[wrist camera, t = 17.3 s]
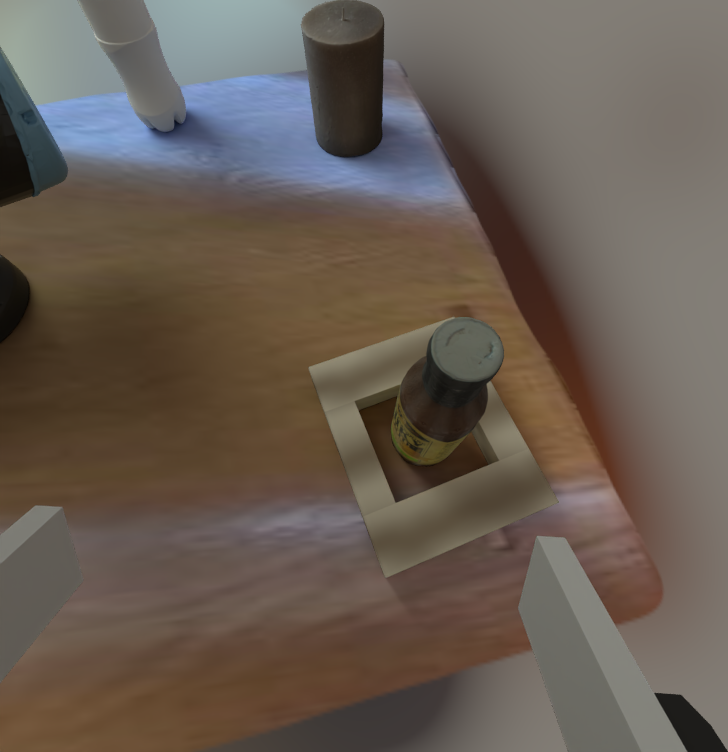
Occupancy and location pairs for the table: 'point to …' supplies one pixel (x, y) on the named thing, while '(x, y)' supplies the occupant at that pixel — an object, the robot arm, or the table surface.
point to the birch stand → (444, 502)
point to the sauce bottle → (445, 391)
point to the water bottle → (137, 59)
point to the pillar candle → (345, 75)
